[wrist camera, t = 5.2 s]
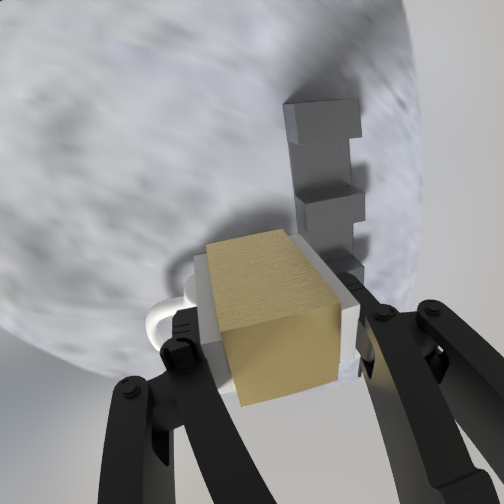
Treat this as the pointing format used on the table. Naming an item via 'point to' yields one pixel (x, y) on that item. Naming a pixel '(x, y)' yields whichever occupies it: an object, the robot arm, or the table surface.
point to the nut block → (273, 316)
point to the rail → (326, 178)
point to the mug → (169, 310)
